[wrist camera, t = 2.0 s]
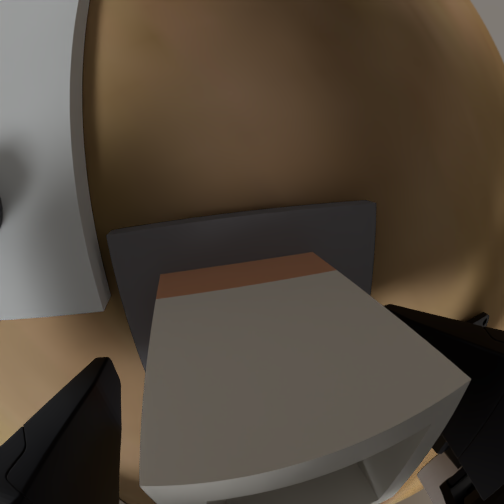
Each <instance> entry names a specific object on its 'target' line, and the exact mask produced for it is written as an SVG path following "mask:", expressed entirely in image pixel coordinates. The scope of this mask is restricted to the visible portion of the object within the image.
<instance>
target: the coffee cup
mask: <svg viewBox="0 0 504 504" xmlns="http://www.w3.org/2000/svg"><path fill="white" fill-rule="evenodd" d="M459 469H460V468H459ZM459 469H457V467H456V466H455V465H454V464H453V463H452V461H451V460H450V459H449V458H448V457H447V455H446V454H445V453H444V452H443V453H442V454H438V455H437V456H436V457H434V458H433V459H432V460H431V461H430V462H429V463H427V464H426V465H425V466H424V467H423V468H422V469H421V470H420V471H419V473H418V474H417V476H418V478H419V480H420V481H421V483H422V485H423V487H424V488H425V490H426V492H427V494H428V495H429V497H430V499H431V501H432V502H433V504H446V503H445V500H444V498H443V495H442V492H441V490H440V488H439V486H440V485H441V484H442V483H443V482H444V481H445V480H446V479H448V478H449V477H451V476H453V475H454V474H455V473H456V472H457V471H458V470H459Z"/></svg>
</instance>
